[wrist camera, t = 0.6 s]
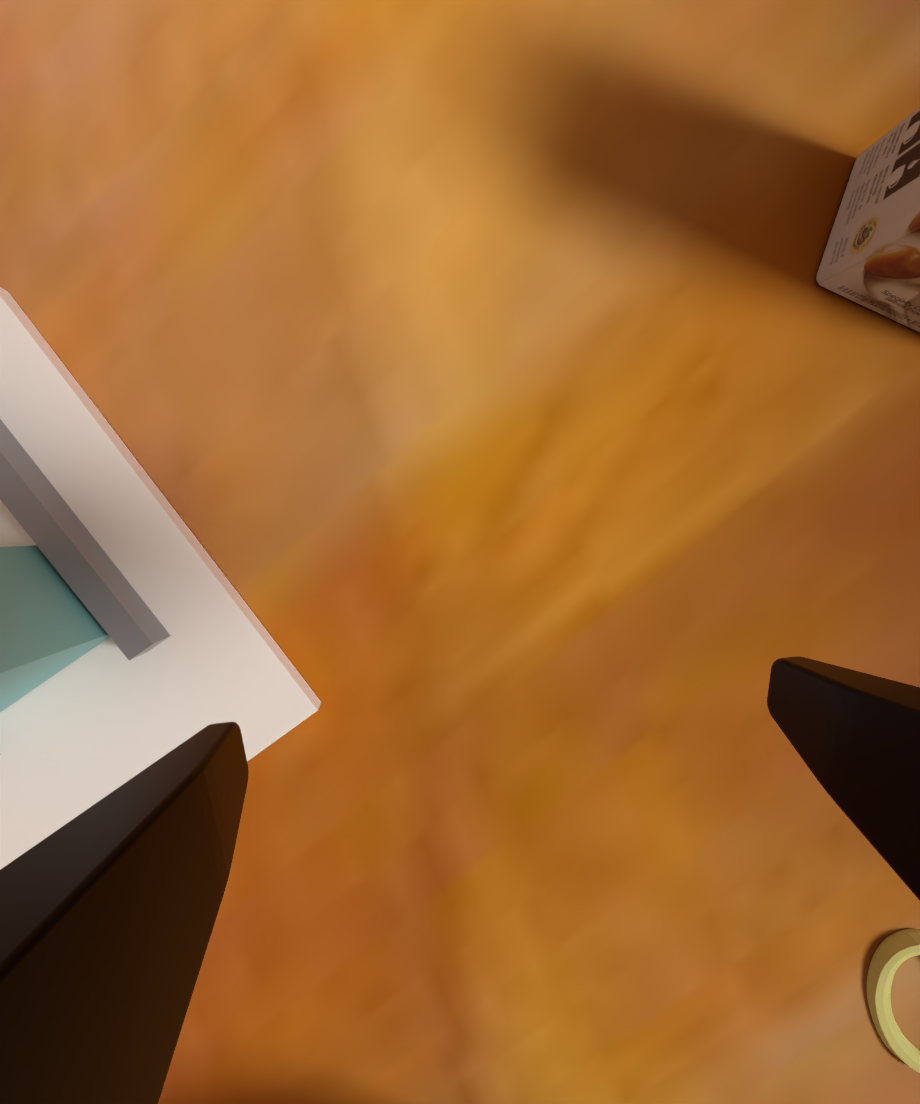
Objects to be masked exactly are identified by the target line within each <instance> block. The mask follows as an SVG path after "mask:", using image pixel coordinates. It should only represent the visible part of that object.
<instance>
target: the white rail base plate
mask: <svg viewBox="0 0 920 1104" xmlns="http://www.w3.org/2000/svg"><path fill="white" fill-rule="evenodd" d="M34 545H37V546H38V547H39V549H40V550H41V551H42V552H43V554H44V555H45V556H46V557H47V559H48V560H49V561H50V562H51V564H52V565H53V566H54V567H55V569H56V570H57V571H58V572H59V574H60V575H61V576H62V577H63V579H64V580H65V581H66V582H67V584H68V585H69V586H70V587H71V589H72V590H73V591H74V592H75V594H76V595H77V596H78V597H79V599H80V600H81V601H82V602H83V604H84V605H85V606H86V607H87V609H88V610H89V611H90V612H91V614H92V615H93V616H94V617H95V619H96V620H97V621H98V622H99V624H100V625H101V626H102V627H103V629H104V630H105V631H106V632H107V634H108V635H109V636H110V637H109V638H107V639H106V640H104V641H103V642H101V643H100V644H99V645H97V646H96V647H94V648H93V649H91V650H90V651H88V652H87V653H86V654H84V655H83V656H81V657H80V658H78V659H77V660H75V661H74V662H73V663H71V664H70V665H68V666H67V667H65V668H64V669H62V670H61V671H60V672H58V673H57V674H55V675H54V676H52V677H51V678H49V679H48V680H47V681H45V682H44V683H42V684H41V685H39V686H38V687H36V688H35V689H34V690H32V691H31V692H29V693H28V694H26V695H25V696H23V697H22V698H21V699H19V700H18V701H16V702H15V703H13V704H12V705H10V706H9V707H8V708H6V709H5V710H3V711H2V712H0V870H1V869H2V868H3V867H5V866H6V865H8V864H9V863H11V862H12V861H13V860H15V859H16V858H18V857H19V856H21V855H22V854H24V853H25V852H26V851H28V850H29V849H31V848H32V847H34V846H35V845H37V844H38V843H39V842H41V841H42V840H44V839H45V838H47V837H48V836H49V835H51V834H52V833H54V832H55V831H57V830H58V829H60V828H61V827H62V826H64V825H65V824H67V823H68V822H70V821H71V820H72V819H74V818H75V817H77V816H78V815H80V814H81V813H83V812H84V811H85V810H87V809H88V808H90V807H91V806H93V805H94V804H96V803H97V802H98V801H100V800H101V799H103V798H104V797H106V796H107V795H108V794H110V793H111V792H113V791H114V790H116V789H117V788H119V787H120V786H121V785H123V784H124V783H126V782H127V781H129V780H130V779H131V778H133V777H134V776H136V775H137V774H139V773H140V772H142V771H143V770H144V769H146V768H147V767H149V766H150V765H152V764H153V763H154V762H156V761H157V760H159V759H160V758H162V757H163V756H165V755H166V754H167V753H169V752H170V751H172V750H173V749H175V748H176V747H178V746H179V745H180V744H182V743H183V742H185V741H186V740H188V739H189V738H190V737H192V736H193V735H195V734H196V733H198V732H199V731H201V730H202V729H203V728H205V727H206V726H208V725H210V724H215V723H224V722H236V723H237V724H238V725H239V727H240V730H241V734H242V739H243V744H244V749H245V754H246V759H247V761H248V760H250V759H251V758H253V757H254V756H255V755H257V754H258V753H259V752H261V751H262V750H264V749H265V748H266V747H268V746H269V745H271V744H272V743H273V742H275V741H276V740H277V739H279V738H280V737H282V736H283V735H284V734H286V733H287V732H288V731H290V730H291V729H293V728H294V727H295V726H297V725H298V724H300V723H301V722H302V721H304V720H305V719H306V718H308V717H309V716H311V715H312V714H313V713H315V712H316V711H318V709H319V706H320V704H321V701H320V700H319V699H318V697H317V696H316V695H315V693H314V692H313V691H312V689H311V688H310V687H309V685H308V684H307V683H306V682H305V680H304V679H303V678H302V676H301V675H300V674H299V672H298V671H297V670H296V668H295V667H294V666H293V665H292V663H291V662H290V661H289V659H288V658H287V657H286V655H285V654H284V653H283V651H282V650H281V649H280V647H279V646H278V645H277V644H276V642H275V641H274V640H273V638H272V637H271V636H270V634H269V633H268V632H267V630H266V629H265V628H264V626H263V625H262V624H261V623H260V621H259V620H258V619H257V617H256V616H255V615H254V613H253V612H252V611H251V609H250V608H249V607H248V606H247V604H246V603H245V602H244V600H243V599H242V598H241V596H240V595H239V594H238V592H237V591H236V590H235V588H234V587H233V586H232V585H231V583H230V582H229V581H228V579H227V578H226V577H225V575H224V574H223V573H222V571H221V570H220V569H219V568H218V566H217V565H216V564H215V562H214V561H213V560H212V558H211V557H210V556H209V554H208V553H207V552H206V550H205V549H204V548H203V547H202V545H201V544H200V543H199V541H198V540H197V539H196V537H195V536H194V535H193V533H192V532H191V531H190V529H189V528H188V527H187V526H186V524H185V523H184V522H183V520H182V519H181V518H180V516H179V515H178V514H177V512H176V511H175V510H174V509H173V507H172V506H171V505H170V503H169V502H168V501H167V499H166V498H165V497H164V495H163V494H162V493H161V491H160V490H159V489H158V488H157V486H156V485H155V484H154V482H153V481H152V480H151V478H150V477H149V476H148V474H147V473H146V472H145V470H144V469H143V468H142V467H141V465H140V464H139V463H138V461H137V460H136V459H135V457H134V456H133V455H132V453H131V452H130V451H129V450H128V448H127V447H126V446H125V444H124V443H123V442H122V440H121V439H120V438H119V436H118V435H117V434H116V432H115V431H114V430H113V429H112V427H111V426H110V425H109V423H108V422H107V421H106V419H105V418H104V417H103V415H102V414H101V413H100V412H99V410H98V409H97V408H96V406H95V405H94V404H93V402H92V401H91V400H90V398H89V397H88V396H87V394H86V393H85V392H84V391H83V389H82V388H81V387H80V385H79V384H78V383H77V381H76V380H75V379H74V377H73V376H72V375H71V373H70V372H69V371H68V370H67V368H66V367H65V366H64V364H63V363H62V362H61V360H60V359H59V358H58V356H57V355H56V354H55V353H54V351H53V350H52V349H51V347H50V346H49V345H48V343H47V342H46V341H45V339H44V338H43V337H42V335H41V334H40V333H39V332H38V330H37V329H36V328H35V326H34V325H33V324H32V322H31V321H30V320H29V318H28V317H27V316H26V315H25V313H24V312H23V311H22V309H21V308H20V307H19V305H18V304H17V303H16V301H15V300H14V299H13V297H12V296H11V295H10V294H9V292H7V291H6V290H4V289H2V288H1V287H0V547H11V546H34Z"/></svg>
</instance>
